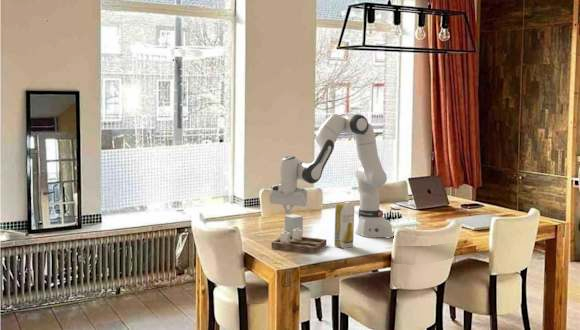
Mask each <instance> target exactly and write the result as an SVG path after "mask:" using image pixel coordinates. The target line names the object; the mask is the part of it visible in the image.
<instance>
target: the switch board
mask: <svg viewBox="0 0 580 330" xmlns="http://www.w3.org/2000/svg"><path fill="white" fill-rule="evenodd" d="M326 246H327V239H326V238H325V239H324V238H320V237H319V238H317V237H305V236H302V240H295V239H292V235H290V244H288V243H282V242H280V237H278V238H277V239H275V240H273V241H271V249H275V250H284V251H293V252H300V253H306V254H307V253H308V254H317V253H318V252H319V251H321V250H322V249H323V248H324V247H326Z"/></svg>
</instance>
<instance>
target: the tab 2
mask: <svg viewBox="0 0 580 330" xmlns="http://www.w3.org/2000/svg"><path fill="white" fill-rule="evenodd" d="M302 237H303V236H302V229H299V228H296V229H294V230H293V232H292V239H295V240H302Z"/></svg>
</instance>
